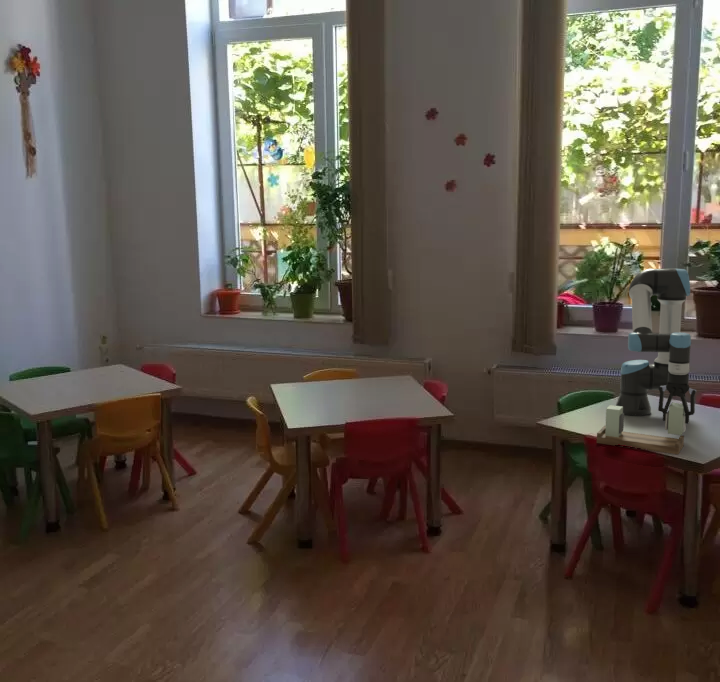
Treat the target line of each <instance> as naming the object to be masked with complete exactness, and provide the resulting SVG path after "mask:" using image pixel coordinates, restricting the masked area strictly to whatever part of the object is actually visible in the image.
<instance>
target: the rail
mask: <svg viewBox="0 0 720 682" xmlns="http://www.w3.org/2000/svg"><path fill="white" fill-rule="evenodd" d="M605 430H606V425H604V426H603V427H602V428H600V429H599V431H597V432H596V444H601V445H608V446H609V445H611V446H615V445H618V444H620V445H626V446H632V447H636V448H635V449H637V448H641V449H640V450H644V449H647V450H646V451H653V452H658V453H664V454H665V453H666V454H673V455H679V454H680V453H681V451H682V449H683V447H684V444H685V435H683V434H682V435H679V437H678V438H676V437H668V436H659V435H652V434H645V433H638V432H630V431H629V432H628V431H624V430H623V431H622V434H621V435H620V436H619V437H612V436H605Z"/></svg>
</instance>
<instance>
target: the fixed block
mask: <svg viewBox="0 0 720 682" xmlns="http://www.w3.org/2000/svg"><path fill="white" fill-rule="evenodd" d="M624 423H625V414H624V413H623V407H622V406H616V405H613V404H610V405H608V406H607V408H606V409H605V426H606V430H605V436H612V437H619V436H620V435H621V434H622V431H623V432H624V426H625V424H624Z"/></svg>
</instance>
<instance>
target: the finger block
mask: <svg viewBox="0 0 720 682" xmlns="http://www.w3.org/2000/svg"><path fill="white" fill-rule="evenodd" d="M684 414H685V412H684V407H683V404H682V403H677V402H671V403H670V405H669V408H668V411H667V434H670V435H677V436H681V435H682V436H683V433H684V432H682V429H683V416H684Z"/></svg>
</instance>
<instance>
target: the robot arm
mask: <svg viewBox="0 0 720 682" xmlns="http://www.w3.org/2000/svg"><path fill="white" fill-rule="evenodd" d="M628 287H629V288H628V295H629V298H630V299H631V311H632V312H631V316H632V332H629V333H628V338H627V349H628V350H629V351H630V352H637V353H639V352H640V353H642V352H643V353H644V352H645V353H657V357H656V358H655V359H654V361H653V363H650V362H649V360H648V359H647V360H646V359H634V360H628V361H625V362H623V363H622V364H621V369H620V386H619V387H620V389H619V396H618V398H617V401H616V404H615V406H622V407H623V413H624V416H626V415H627V416H634V417H636V416H637V417H638V416H640V417H641V416H647V415H651V413H652V412H651V411H652V407H651V404H650V401H649V397H648V391H659V399H658V407H657V408H658V409H657V410H658V412H662V421H663V422H665V423H664V426H665V427H664V430H665V431H668V429H667V412H668V411H669V406H670V405H671V403H672V400H673V397H680V400H681V404H683V407H684V412H685V414H684V416H683V429H682V432H683V433H685V432H686V426H687V425H688V424H689V422H690V416H693V415H694V414H695V411H696V408H695V407H696V406H695V405H696V404H695V403H696V393H697V389H696V388H691V387H690V386H689V381H690V380H689V379H690V378H689V377H690V374H689V372H690V360H691V359H690V358H691V345H692V335H691V334H689V333H688V332H681V329H682V328H681V327H682V326H681V325H682V309H683V308H682V305H683V303H684V302H686V300H687V297H689V296H691V282H690V276H689V273H688V270H687V269H684V268H646V269H644V270H641V271H640V272H639V273H637V274H636V275H635V276H634V278H632V280H631V282H630V284H629V286H628ZM653 296H656V297H657V301H658V302H659V303H660V310H659V313H660V314H659V333H655V332H653V318H652V317H653V316H652V303H651V299H652V298H651V297H653ZM666 391H667V392H668V393H669V394H668V396H667V397H668V398H667V400H666V403H665V406H664V399H665V398H664V396H665V392H666ZM687 393H689V394H690V396H689V397H690V405H688V401H687V398H686V397H687V396H686V394H687ZM689 406H690V410H689Z"/></svg>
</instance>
